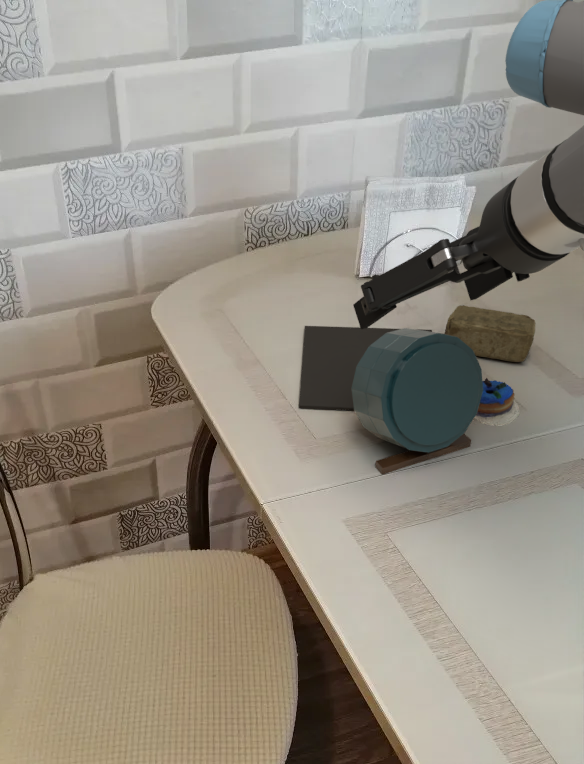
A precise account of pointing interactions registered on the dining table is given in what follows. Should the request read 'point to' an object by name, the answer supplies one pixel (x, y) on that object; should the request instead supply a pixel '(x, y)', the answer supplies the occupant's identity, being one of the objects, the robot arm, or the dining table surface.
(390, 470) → the stop rail
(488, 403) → the dessert
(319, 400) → the mat
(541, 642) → the dining table surface
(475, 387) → the bowl
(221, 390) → the dining table surface
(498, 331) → the stone block
